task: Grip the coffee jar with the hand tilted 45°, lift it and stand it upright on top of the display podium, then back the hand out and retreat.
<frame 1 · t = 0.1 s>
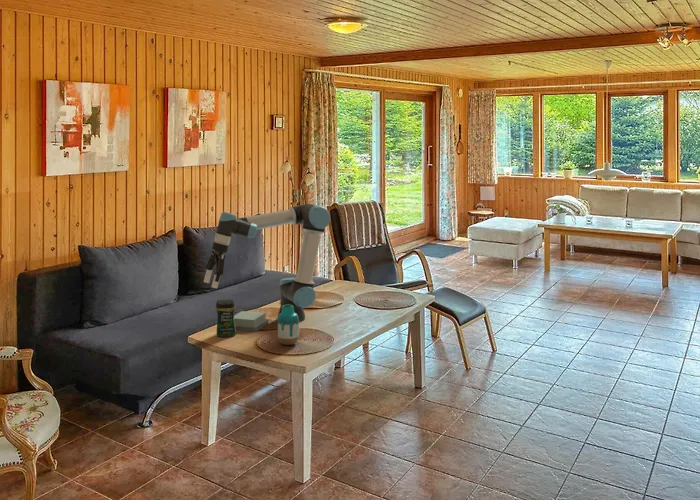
hand: (210, 285, 315), 28 cm above the table, tool tilted 20°, fingers open, 13 cm apart
vase: (288, 344, 311), on the table
podium: (248, 326, 341), on the table
coffee jar: (226, 335, 326), on the table
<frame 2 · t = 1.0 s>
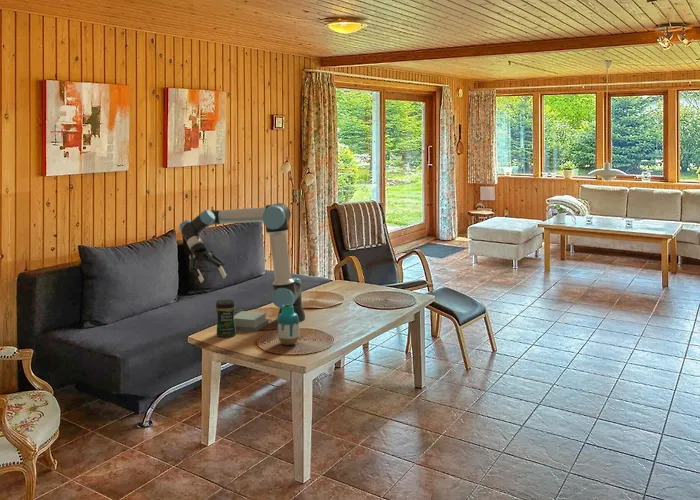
hand: (213, 279, 327), 28 cm above the table, tool tilted 45°, fingers open, 13 cm apart
nothing on the table moved.
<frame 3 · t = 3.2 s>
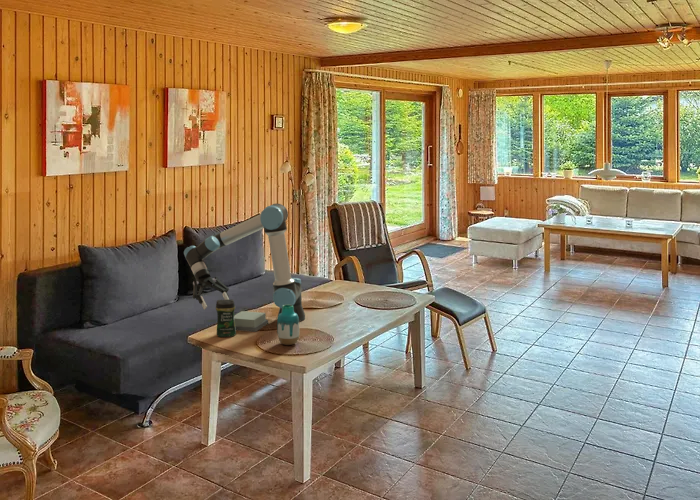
hand: (217, 305, 328), 14 cm above the table, tool tilted 45°, fingers open, 13 cm apart
nothing on the table moved.
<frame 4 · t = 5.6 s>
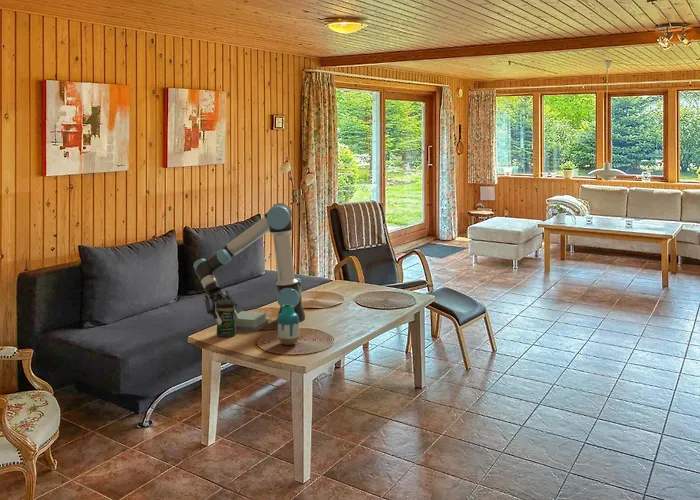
hand: (229, 321, 323), 8 cm above the table, tool tilted 45°, fingers closed on coffee jar, 9 cm apart
coffee jar: (226, 335, 326), on the table, touching gripper
everything else where it was.
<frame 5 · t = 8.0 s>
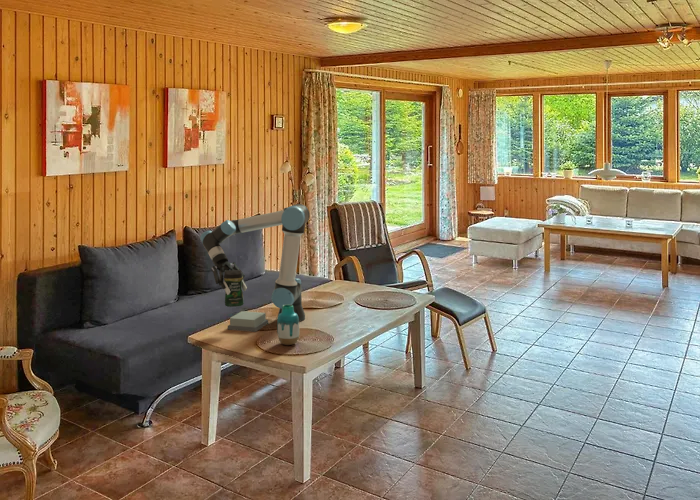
hand: (237, 291, 327), 22 cm above the table, tool tilted 45°, fingers closed on coffee jar, 9 cm apart
coffee jar: (234, 305, 331), point 13 cm above the table, touching gripper
everything else where it was.
when the fingers open (15 cm above the table, at t = 10.3 s): coffee jar drops 1 cm, resting on podium.
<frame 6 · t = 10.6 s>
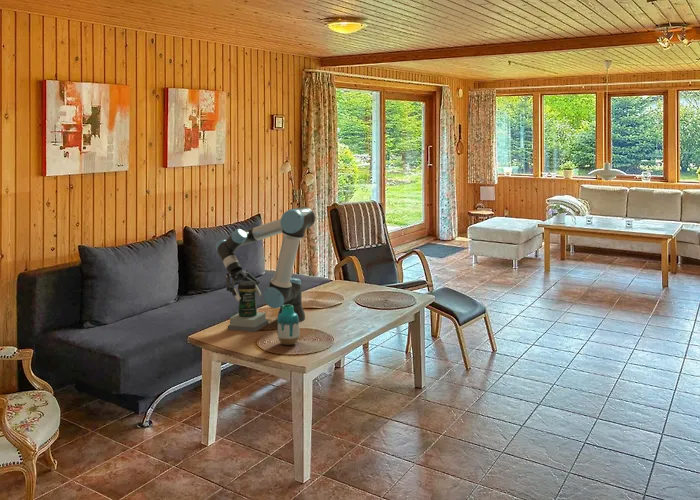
hand: (249, 297, 337), 16 cm above the table, tool tilted 45°, fingers open, 12 cm apart
coffee jar: (248, 315, 340), point 6 cm above the table, touching podium
everything else where it was.
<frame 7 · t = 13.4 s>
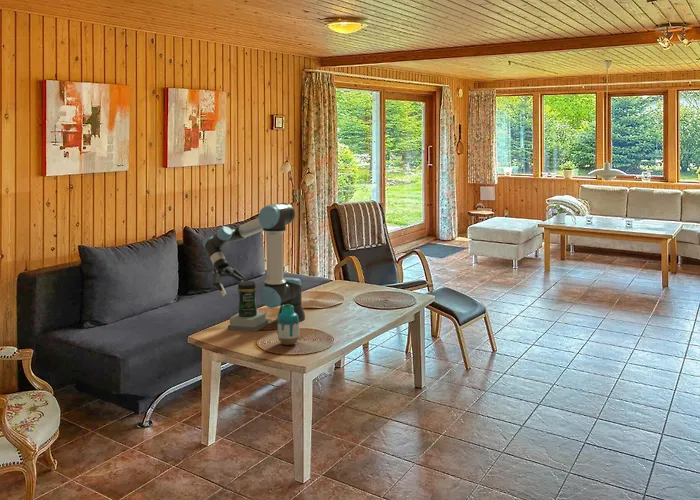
hand: (235, 293, 346), 16 cm above the table, tool tilted 45°, fingers open, 13 cm apart
nothing on the table moved.
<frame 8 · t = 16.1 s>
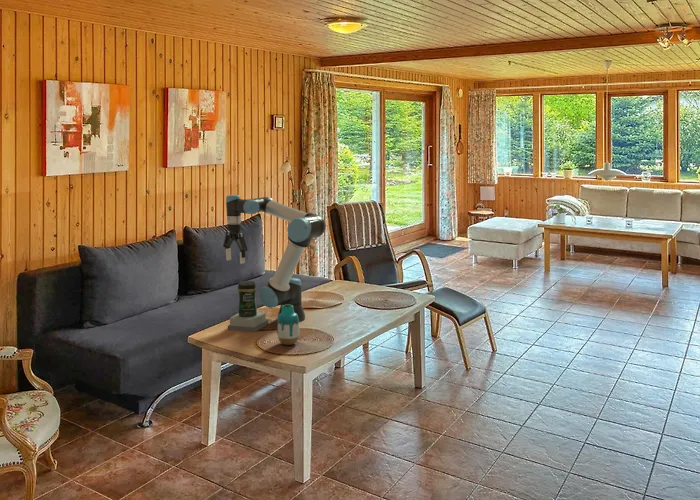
hand: (235, 261, 352), 32 cm above the table, tool pointing down, fingers open, 13 cm apart
nothing on the table moved.
at the end: coffee jar inside the target area on the podium (0.2 cm from its centre), point 5.8 cm above the podium's base; coffee jar tilted 0°; the gripper is holding nothing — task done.
